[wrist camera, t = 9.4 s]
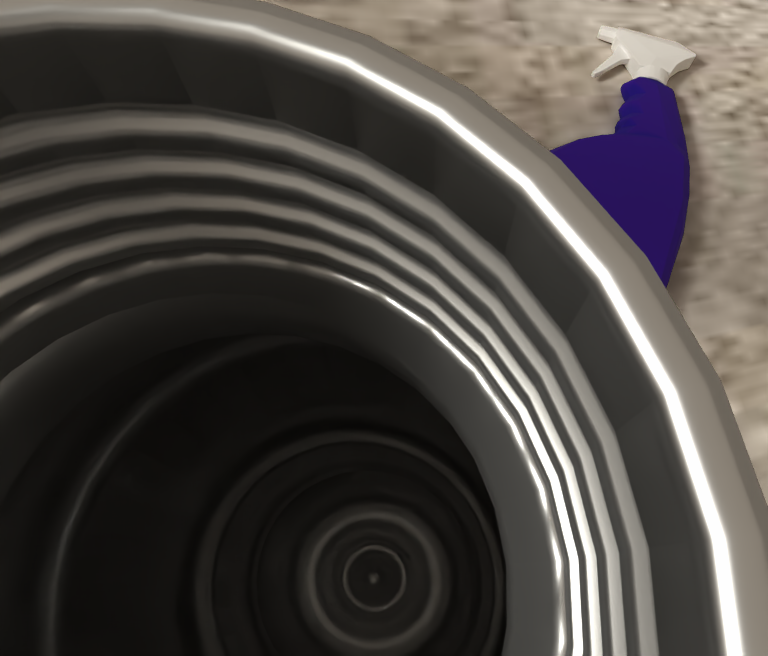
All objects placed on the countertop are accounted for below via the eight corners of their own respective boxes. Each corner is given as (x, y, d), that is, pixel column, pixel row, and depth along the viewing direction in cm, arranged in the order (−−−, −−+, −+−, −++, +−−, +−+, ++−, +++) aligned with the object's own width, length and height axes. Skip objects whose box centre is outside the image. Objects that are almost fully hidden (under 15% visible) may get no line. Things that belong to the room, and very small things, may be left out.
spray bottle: (667, 327, 37) (733, 40, 46) (493, 271, 39) (588, 5, 47) (649, 344, 40) (714, 71, 48) (487, 292, 42) (577, 37, 50)
